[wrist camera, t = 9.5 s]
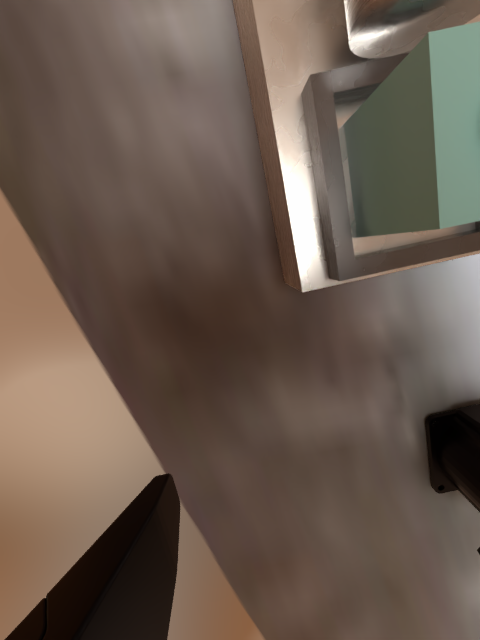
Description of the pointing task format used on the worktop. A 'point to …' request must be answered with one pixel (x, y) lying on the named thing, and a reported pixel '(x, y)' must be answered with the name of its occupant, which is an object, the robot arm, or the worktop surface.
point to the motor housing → (334, 127)
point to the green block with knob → (420, 140)
